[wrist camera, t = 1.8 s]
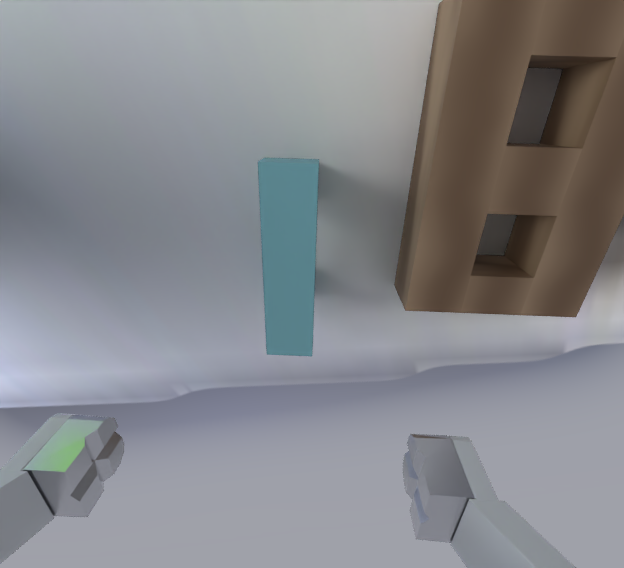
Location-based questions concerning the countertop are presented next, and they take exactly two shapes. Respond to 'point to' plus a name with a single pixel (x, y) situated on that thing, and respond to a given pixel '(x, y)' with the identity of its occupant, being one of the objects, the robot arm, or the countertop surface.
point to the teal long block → (288, 252)
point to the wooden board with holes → (515, 159)
